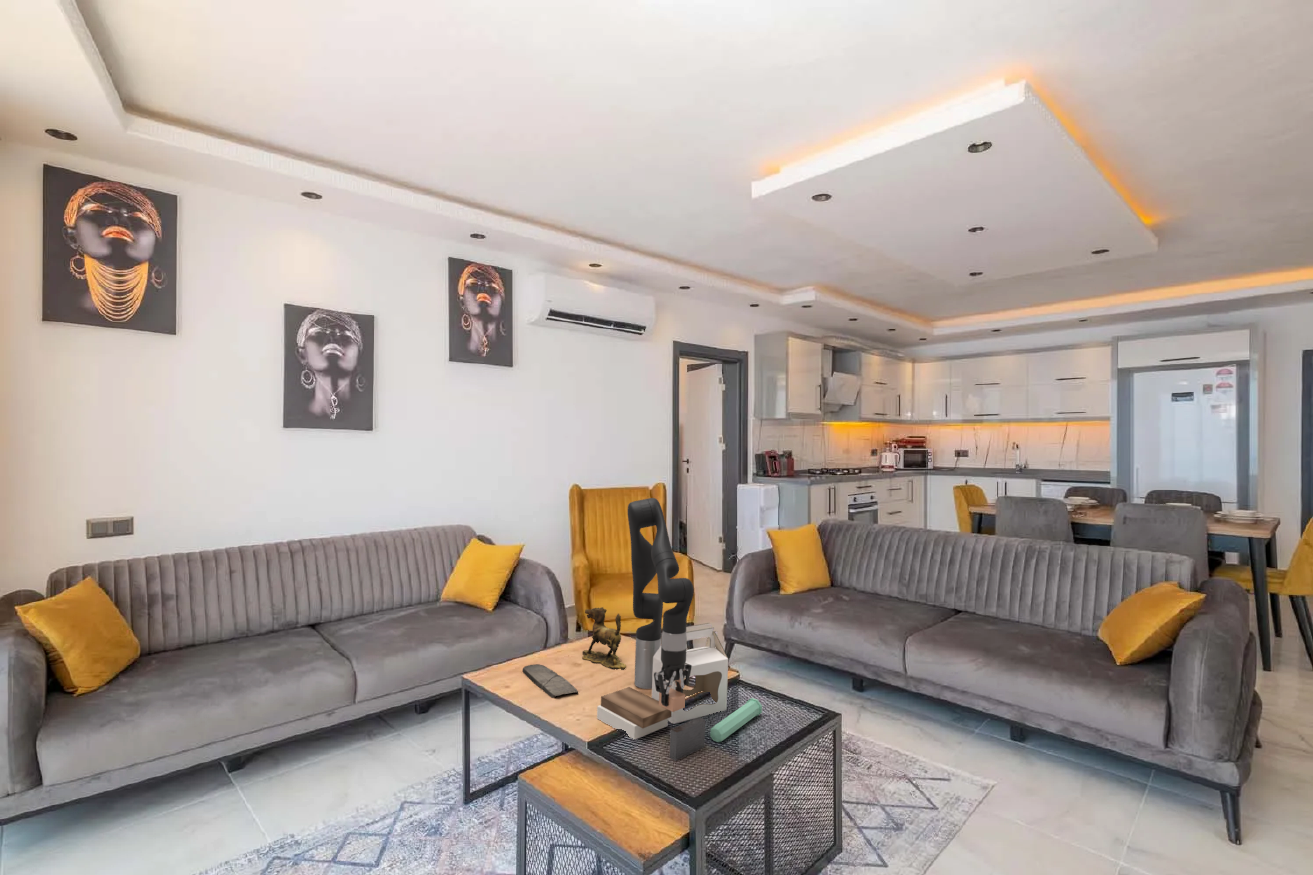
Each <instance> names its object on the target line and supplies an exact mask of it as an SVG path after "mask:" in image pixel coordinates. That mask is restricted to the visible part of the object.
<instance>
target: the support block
mask: <svg viewBox="0 0 1313 875" xmlns="http://www.w3.org/2000/svg"><path fill="white" fill-rule="evenodd" d="M668 694H669V705H668V706H667V707H666V706H664V705H662V703H661V693H660V692H659V705H660V706H662V707H664V708H666V709H668V710H670V711H672V712H674V711H677V710H679V709H682V708H685V694H683V693H681V692H679V691H676V690H674V689H672V688H670V690H669V693H668Z"/></svg>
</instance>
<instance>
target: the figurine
mask: <svg viewBox="0 0 1313 875" xmlns="http://www.w3.org/2000/svg"><path fill="white" fill-rule="evenodd" d="M606 612H607V609H606V608H604V606H603V607H594V608H591V609H585V610H584V613H585V615H586V618H587V619H593V620H594V622H593V624H592V636H591V638H592V641H591V642H590V645H589V648H588V650H587V649H585V650H582V657H581V659H582V660H583V661H587V662H590V663H592V664H597V665H598V664H599V665H601V666H603V667H605V668H608V669H610V670H615V669H616V670H618V669H621V670H620V671H625V670H626V669H627V665H626V664H625V663H624V662H621V661H620V659H619V655H617V652H618V648H619V647H620V644H621V641H622V635H621V633H620V632H621V627H622V624H621V623H622V621H621V620H622V616H621V614H620V613H617V614H616V616H615V618H614V620H615V625H616V629H615V628H609V627H607V626H606V625H605V619H606ZM595 643H596V644H599V643H600V644H601V645H603V646H607V647H608V648H609V650H608V652H607V653H606V654H604V653H603V652H602V651H597V652H596V651H594V650H592V649H593V647H594V645H595ZM625 668H626V669H625ZM624 669H625V670H624Z"/></svg>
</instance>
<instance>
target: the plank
mask: <svg viewBox="0 0 1313 875" xmlns="http://www.w3.org/2000/svg"><path fill="white" fill-rule="evenodd" d="M600 696H601V697H600V705H601V706H602V707H604V708H606V709H608V710H610V711H611V712H613V713H615V714H617V715H619V716H621V717H622V718H624V719H626V720H628V721H630V722H632V723H633V724H635V725H637V726H639V727H641V728H645V727H648V726H650V725H653V724H655V723H658V722H660V721H663V720H665V719H668V718H670V717H671V712H672V711H670V710H668V709H666V708H664V707H662V706H660V705H659V701H658V700H655V699H653V698H652V696H649V695H647V694H645V693H644V692H640V691H639V690H637V689H635V688H633V687H631V686H628V687H625V688H621V689H619V690H616V691H613V692H611V693H607V694H603V695H600Z"/></svg>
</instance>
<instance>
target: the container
mask: <svg viewBox="0 0 1313 875" xmlns="http://www.w3.org/2000/svg"><path fill="white" fill-rule="evenodd" d="M762 713H763V705H762V703H761V702H760V701H759V699H758V698H757V699H756V698H754V697H751V698H749V699H748V700H747V701H745V704H743V705H742V706H740V707H739V708H738V709H736V710H735V711H733V712H732V713H730V714H729V715H728V716H726V717H725V718H723V719H722V720H720V721H719V722H718V723H716V724H715V725H713V726H712V727H711V728H710V730H709V731H710V733H709V734H710V735H709V736H710V737H711V739H712V740H713V741H714V742H717V743H721V742H722V741H724V740H726V739H727V738H729V737H730V736H731V735H732V734H733V733H735V732H736V731H737V730H739V729H740V728H742V726H744V725H746V723H748V722H749V721H751V720H752V719H753V718H754V717H758V716H759V715H761V714H762Z"/></svg>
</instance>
